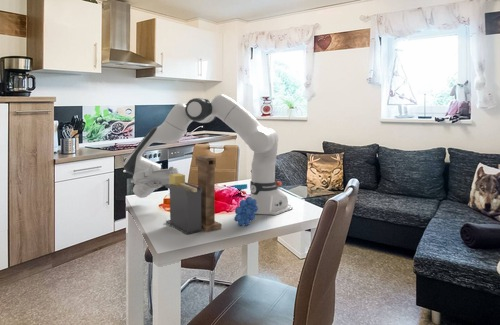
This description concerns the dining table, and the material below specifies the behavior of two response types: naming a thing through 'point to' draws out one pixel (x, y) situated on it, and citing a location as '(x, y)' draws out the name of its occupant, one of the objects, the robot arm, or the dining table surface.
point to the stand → (207, 192)
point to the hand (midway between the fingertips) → (162, 169)
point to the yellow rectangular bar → (180, 182)
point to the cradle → (185, 209)
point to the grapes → (246, 211)
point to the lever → (241, 187)
